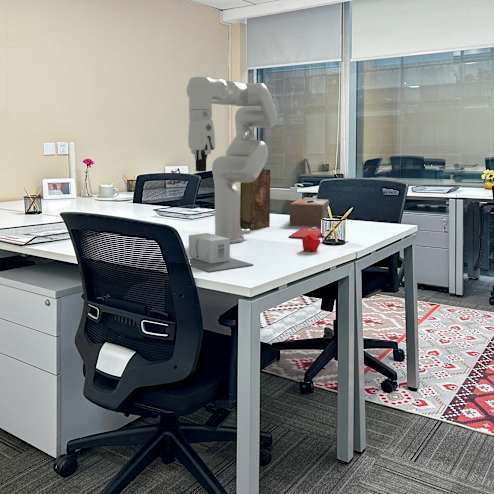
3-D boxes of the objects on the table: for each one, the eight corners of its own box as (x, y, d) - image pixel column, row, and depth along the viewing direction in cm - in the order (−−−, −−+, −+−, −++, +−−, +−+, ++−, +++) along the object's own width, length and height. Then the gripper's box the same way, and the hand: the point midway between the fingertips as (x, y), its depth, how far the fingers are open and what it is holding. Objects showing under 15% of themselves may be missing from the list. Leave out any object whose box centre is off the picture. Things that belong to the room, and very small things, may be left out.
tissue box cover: (321, 227, 255) (322, 205, 253) (289, 226, 258) (290, 204, 256) (328, 220, 279) (329, 199, 277) (298, 219, 283) (299, 198, 281)
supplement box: (210, 264, 174) (188, 257, 184) (230, 261, 179) (207, 255, 189) (210, 240, 173) (187, 234, 183) (230, 237, 178) (207, 232, 187)
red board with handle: (340, 229, 248) (306, 228, 253) (340, 223, 248) (306, 222, 253) (326, 241, 221) (288, 240, 225) (326, 234, 220) (288, 232, 225)
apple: (309, 232, 204) (300, 227, 197) (326, 238, 201) (317, 233, 194) (302, 251, 204) (293, 246, 197) (319, 256, 200) (310, 252, 194)
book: (260, 225, 259) (261, 169, 255) (271, 226, 256) (271, 169, 252) (240, 229, 246) (240, 170, 241) (250, 230, 243) (251, 170, 238)
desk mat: (220, 255, 189) (220, 254, 189) (253, 265, 175) (253, 264, 175) (177, 261, 180) (177, 260, 180) (209, 272, 165) (209, 270, 165)
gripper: (222, 115, 188) (222, 172, 191) (198, 116, 200) (198, 170, 203) (203, 114, 183) (203, 172, 187) (179, 116, 195) (180, 170, 199)
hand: (201, 171), depth 195 cm, fingers closed
